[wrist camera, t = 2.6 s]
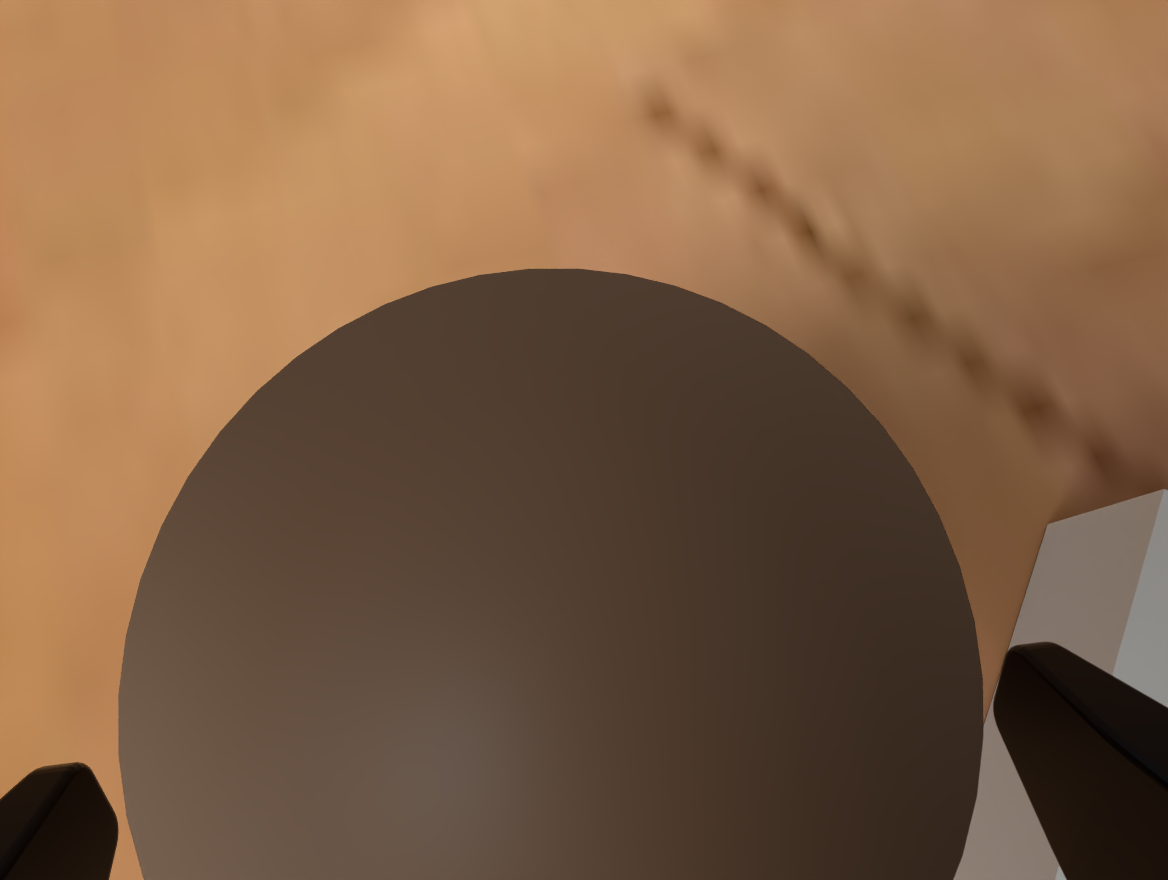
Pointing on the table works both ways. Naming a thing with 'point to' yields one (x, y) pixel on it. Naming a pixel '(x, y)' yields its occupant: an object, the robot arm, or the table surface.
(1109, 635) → the socket block
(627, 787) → the walnut peg
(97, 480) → the table surface
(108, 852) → the robot arm
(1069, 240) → the table surface
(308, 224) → the table surface
